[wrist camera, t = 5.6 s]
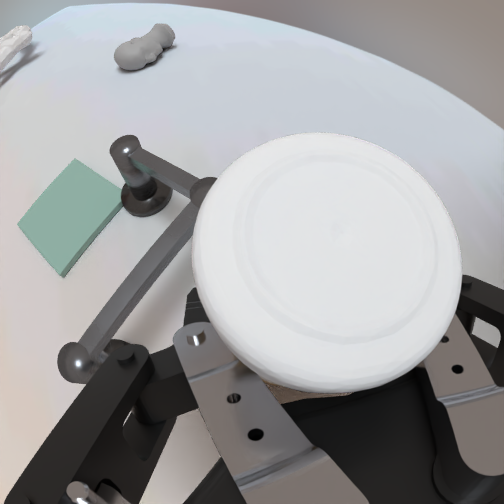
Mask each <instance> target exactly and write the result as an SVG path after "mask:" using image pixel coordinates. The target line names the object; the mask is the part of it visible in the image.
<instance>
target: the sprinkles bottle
mask: <svg viewBox="0 0 504 504" xmlns="http://www.w3.org/2000/svg"><path fill="white" fill-rule="evenodd" d="M191 260H192V269H193V276H194V281H195V285H196V289H197V292H198V296H199V298H200V301H201V303H202V305H203V308H204V310H205V312H206V314H207V316H208V318H209V320H210V322H211V324H212V325H213V327H214V329H215V330H216V332H217V333H218V335H219V336H220V338H221V339H222V340H223V342H224V343H225V344H226V346H227V347H228V348H229V349H230V351H231V352H232V353H233V354H234V355H235V356H236V357H237V358H238V359H239V360H240V361H241V362H242V363H243V364H245V365H246V366H247V367H249V368H250V369H251V370H253V371H254V372H255V373H257V374H258V376H259V377H260V378H261V380H262V381H263V382H265V383H268V384H271V385H275V386H284V387H287V388H291V389H294V390H298V391H303V392H309V393H326V394H335V393H349V392H356V391H361V390H366V389H371V388H374V387H378V386H381V385H383V384H386V383H388V382H390V381H392V380H394V379H396V378H398V377H400V376H402V375H404V374H406V373H407V372H409V371H410V370H412V369H413V368H414V367H415V366H416V365H418V364H419V363H420V362H421V361H422V360H424V359H425V358H426V357H427V356H428V355H429V354H430V353H431V352H432V351H433V349H434V348H435V347H436V346H437V344H438V343H439V342H440V340H441V339H442V337H443V335H444V334H445V332H446V331H447V329H448V327H449V325H450V323H451V321H452V318H453V316H454V314H455V311H456V308H457V304H458V301H459V296H460V291H461V283H462V257H461V251H460V245H459V240H458V237H457V233H456V230H455V227H454V225H453V222H452V220H451V217H450V215H449V213H448V211H447V209H446V207H445V206H444V204H443V202H442V201H441V199H440V198H439V196H438V195H437V193H436V192H435V190H434V189H433V188H432V187H431V186H430V184H429V183H428V182H427V181H426V180H425V179H424V178H423V177H422V176H421V175H420V174H419V173H418V172H417V171H416V170H415V169H414V168H413V167H412V166H410V165H409V164H408V163H406V162H405V161H404V160H402V159H401V158H399V157H398V156H396V155H395V154H393V153H391V152H389V151H388V150H386V149H384V148H382V147H380V146H378V145H375V144H373V143H370V142H368V141H365V140H362V139H359V138H356V137H351V136H346V135H341V134H334V133H300V134H293V135H289V136H285V137H281V138H277V139H274V140H271V141H269V142H266V143H264V144H262V145H259V146H257V147H256V148H254V149H252V150H250V151H248V152H247V153H245V154H244V155H242V156H241V157H239V158H238V159H237V160H235V161H234V162H233V163H232V164H231V165H230V166H229V167H228V168H227V169H226V170H225V171H224V172H223V173H222V174H221V175H220V176H219V177H218V179H217V180H216V181H215V183H214V184H213V185H212V187H211V188H210V190H209V191H208V193H207V195H206V197H205V199H204V201H203V202H202V204H201V207H200V210H199V212H198V216H197V219H196V223H195V227H194V231H193V238H192V254H191Z"/></svg>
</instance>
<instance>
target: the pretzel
mask: <svg viewBox="0 0 504 504" xmlns="http://www.w3.org/2000/svg"><path fill="white" fill-rule="evenodd" d="M31 40H32V32H31V29H30V27H28V26H26V25H25V26H23V25H22V26H19V27H18V26H17V27H15V29H12V30H11V31H10V32H9V33H8V34H6V35H5V36H3V37H1V38H0V72H1V71H2V70H3V69H4V68H5V66H6V65H7V64H8V63H9V62H10V61H11V60H12V58H13V57H14V56H15V55H16V54H17V53H18V52H19V51H20V50H21V49H23V48H25V47H26V46H28V45H30V43H31Z"/></svg>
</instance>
